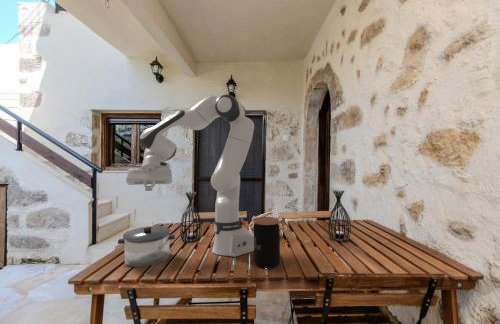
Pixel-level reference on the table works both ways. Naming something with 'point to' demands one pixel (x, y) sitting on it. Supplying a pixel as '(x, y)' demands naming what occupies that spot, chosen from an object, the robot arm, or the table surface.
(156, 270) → the table surface
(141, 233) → the lid
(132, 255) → the pot
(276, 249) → the coffee jar
